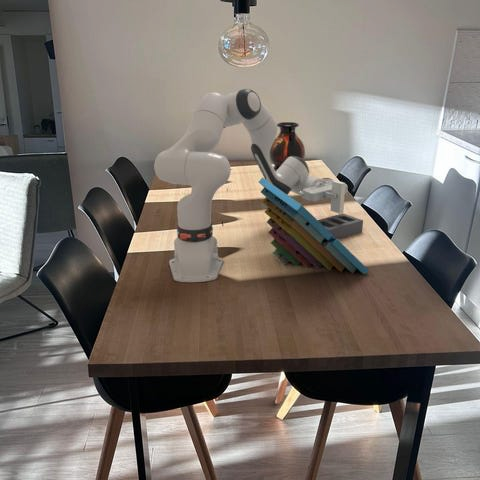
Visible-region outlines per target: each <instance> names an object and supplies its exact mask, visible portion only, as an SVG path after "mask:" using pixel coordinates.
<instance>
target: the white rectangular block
mask: <svg viewBox="0 0 480 480" xmlns="http://www.w3.org/2000/svg"><path fill="white" fill-rule="evenodd" d="M345 184H346V183H345V182H343V181H339V180H334V181H332V194H334V193H335V194H337V195H338V198H337V199H332V198H330V200H331V201H330V211H331V212H333V213H336V214H338V215H339V214H342V213H343V214H344V205H345Z"/></svg>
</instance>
